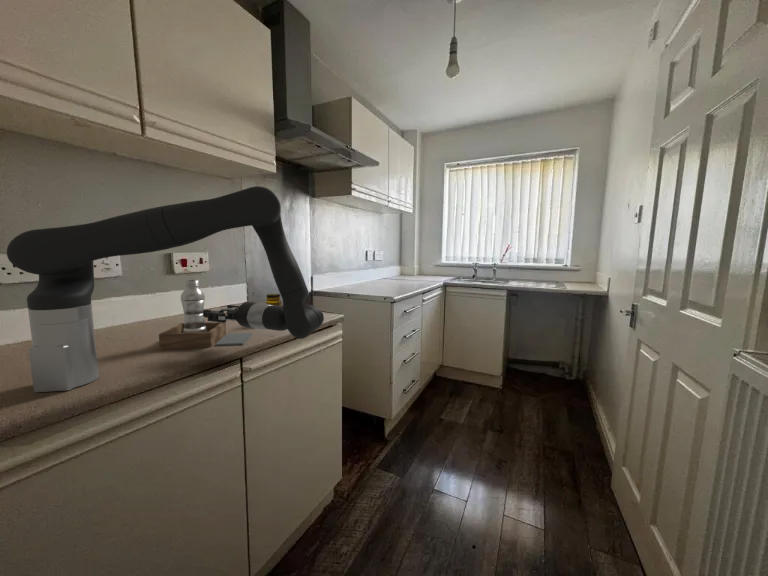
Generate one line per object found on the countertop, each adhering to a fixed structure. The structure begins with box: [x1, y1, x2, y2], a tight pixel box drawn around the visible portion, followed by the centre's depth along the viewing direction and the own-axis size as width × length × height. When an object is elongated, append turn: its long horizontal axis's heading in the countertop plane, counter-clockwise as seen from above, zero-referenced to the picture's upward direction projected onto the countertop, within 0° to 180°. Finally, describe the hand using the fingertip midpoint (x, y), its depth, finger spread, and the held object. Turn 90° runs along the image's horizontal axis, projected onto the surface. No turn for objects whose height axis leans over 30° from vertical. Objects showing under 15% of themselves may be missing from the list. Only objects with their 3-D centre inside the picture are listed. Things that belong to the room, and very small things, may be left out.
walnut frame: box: [158, 321, 227, 350], centre depth 96 cm, size 14×14×4 cm
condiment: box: [265, 293, 282, 306], centre depth 123 cm, size 7×8×12 cm
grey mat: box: [215, 332, 253, 347], centre depth 99 cm, size 12×8×1 cm, turn 11°
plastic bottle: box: [180, 279, 207, 333], centre depth 95 cm, size 6×7×20 cm
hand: (216, 310), depth 92 cm, fingers open, 8 cm apart
